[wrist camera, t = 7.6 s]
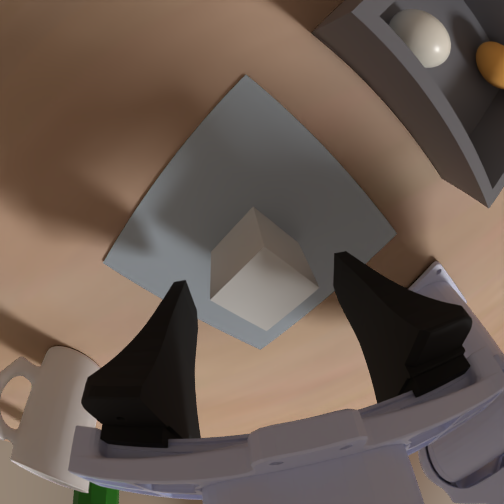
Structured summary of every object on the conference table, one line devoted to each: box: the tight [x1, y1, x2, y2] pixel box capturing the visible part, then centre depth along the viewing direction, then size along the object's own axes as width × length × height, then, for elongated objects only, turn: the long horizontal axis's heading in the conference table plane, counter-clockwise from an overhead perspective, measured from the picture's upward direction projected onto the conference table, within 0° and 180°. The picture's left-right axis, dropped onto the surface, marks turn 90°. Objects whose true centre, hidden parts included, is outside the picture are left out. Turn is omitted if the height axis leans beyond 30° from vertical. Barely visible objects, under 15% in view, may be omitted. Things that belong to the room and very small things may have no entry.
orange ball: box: [476, 41, 504, 89], centre depth 8 cm, size 3×3×3 cm
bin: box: [312, 0, 504, 208], centre depth 8 cm, size 12×12×4 cm
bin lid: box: [103, 75, 397, 350], centre depth 14 cm, size 13×13×5 cm
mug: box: [0, 346, 100, 493], centre depth 15 cm, size 10×7×12 cm, turn 32°
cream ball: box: [389, 9, 451, 68], centre depth 8 cm, size 3×3×3 cm
